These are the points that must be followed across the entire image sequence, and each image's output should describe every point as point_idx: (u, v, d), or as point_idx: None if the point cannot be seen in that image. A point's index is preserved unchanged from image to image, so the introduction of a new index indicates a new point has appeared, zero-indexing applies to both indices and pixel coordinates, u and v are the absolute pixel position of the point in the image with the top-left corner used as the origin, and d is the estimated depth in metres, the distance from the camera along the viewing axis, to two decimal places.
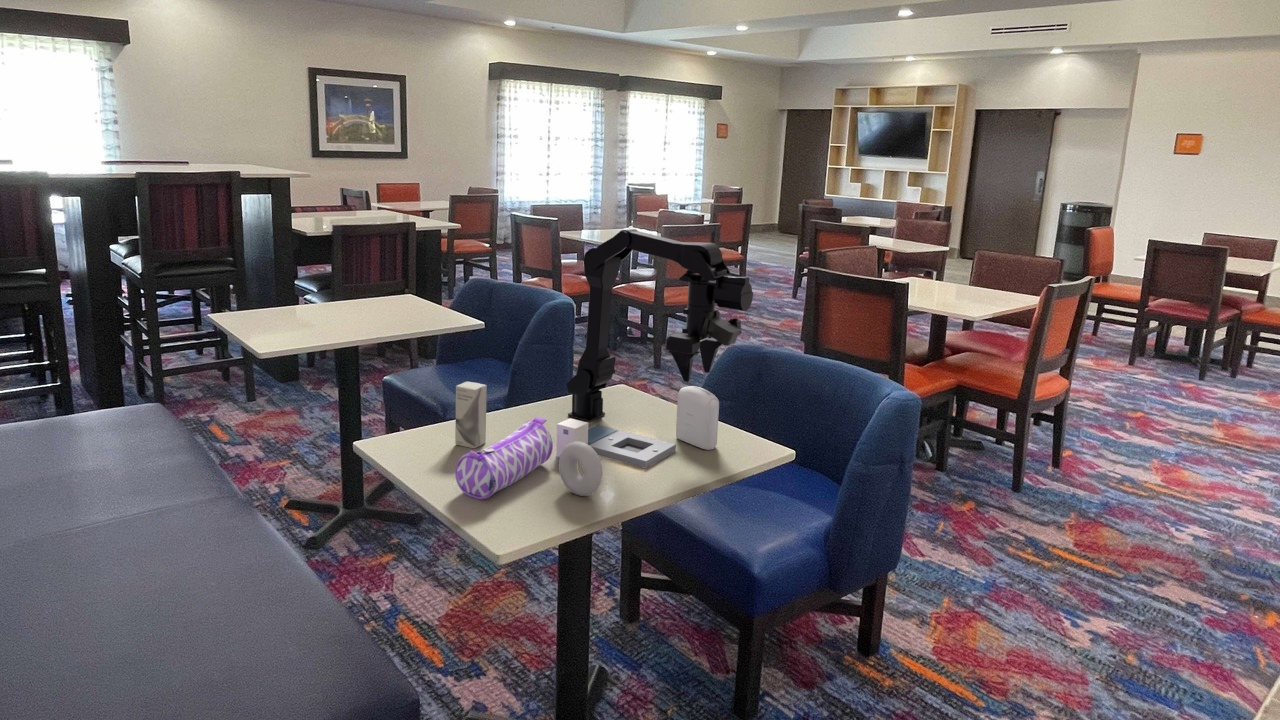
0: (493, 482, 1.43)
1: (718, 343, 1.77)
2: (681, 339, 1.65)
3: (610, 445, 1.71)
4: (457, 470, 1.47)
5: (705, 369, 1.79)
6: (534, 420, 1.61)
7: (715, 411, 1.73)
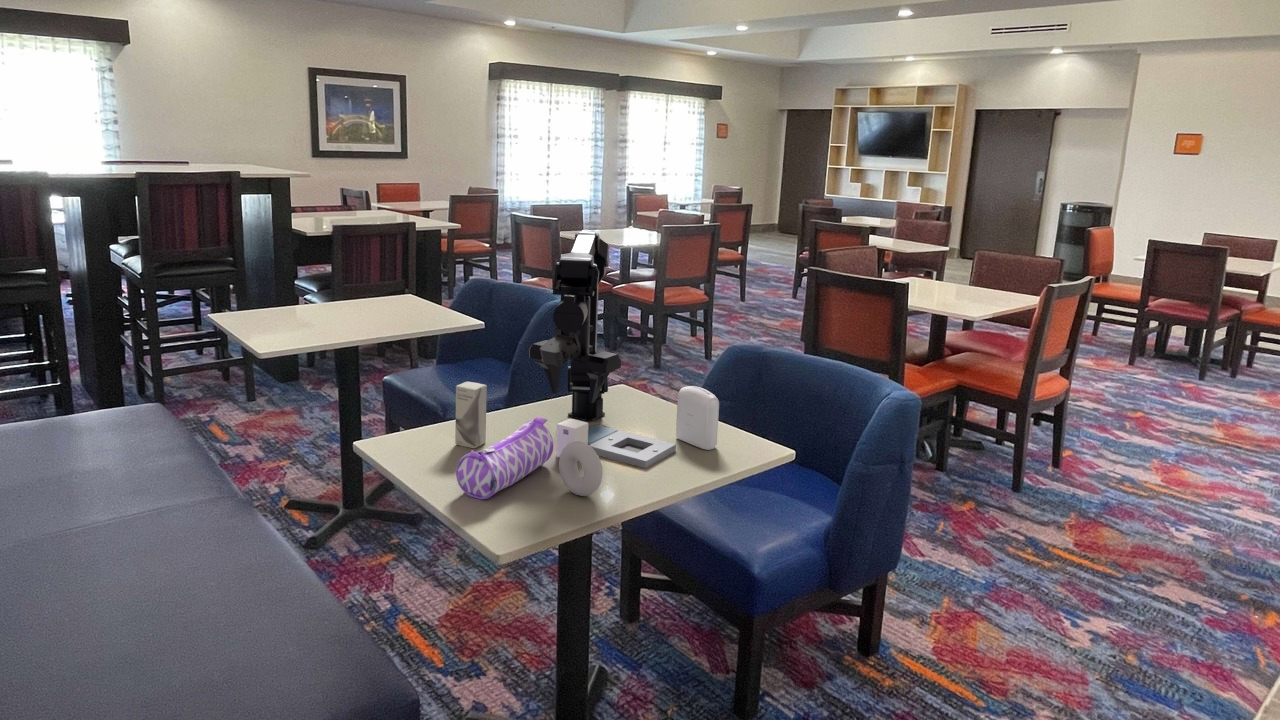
0: (494, 482, 1.43)
1: None
2: None
3: (610, 445, 1.71)
4: (458, 470, 1.47)
5: None
6: (535, 420, 1.61)
7: (715, 411, 1.73)
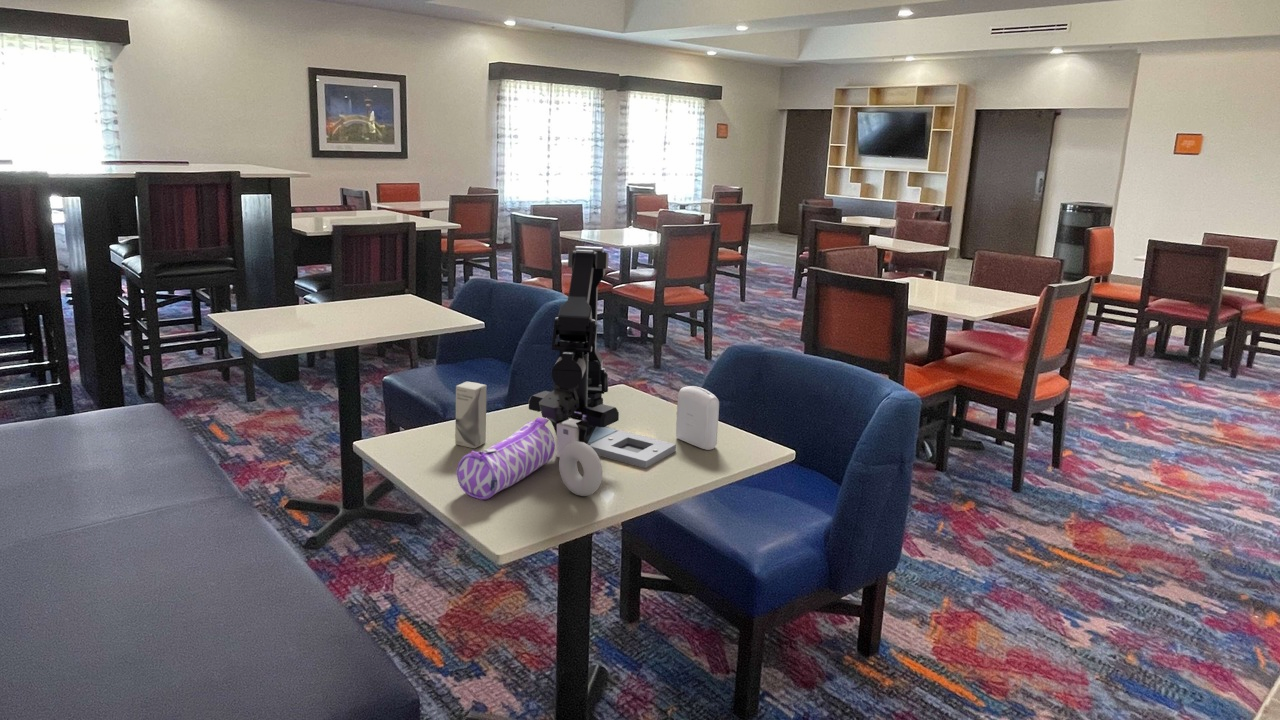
0: (495, 482, 1.43)
1: None
2: None
3: (610, 445, 1.71)
4: (459, 470, 1.47)
5: None
6: (536, 420, 1.61)
7: (715, 411, 1.73)
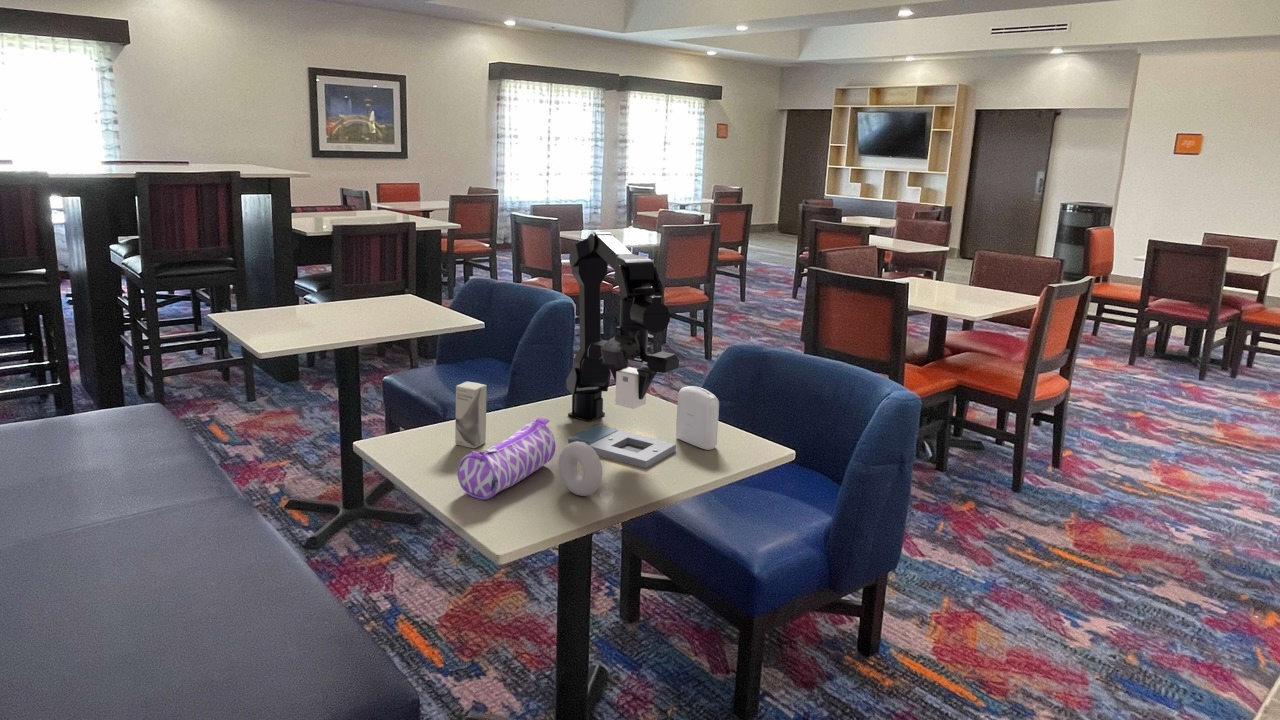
0: (495, 482, 1.43)
1: None
2: None
3: (610, 445, 1.71)
4: (459, 470, 1.47)
5: None
6: (537, 420, 1.61)
7: (715, 411, 1.73)
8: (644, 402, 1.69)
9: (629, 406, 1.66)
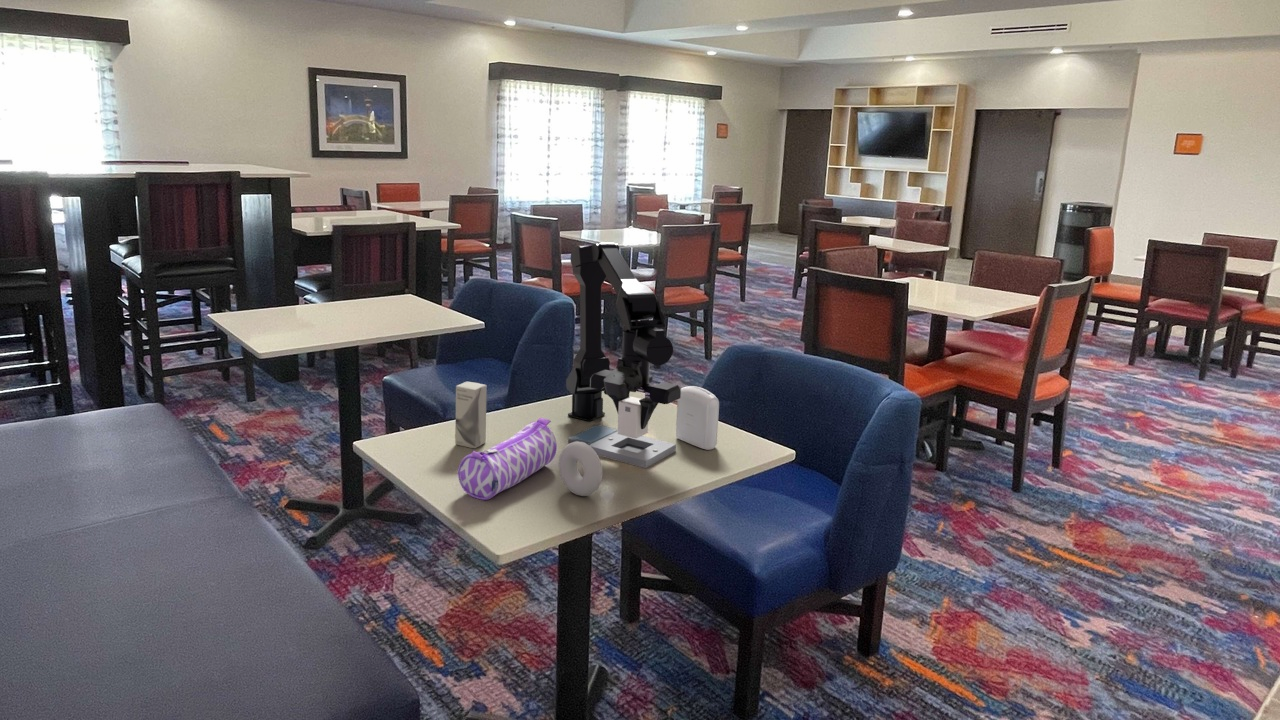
0: (495, 483, 1.43)
1: None
2: (596, 373, 1.72)
3: (610, 445, 1.71)
4: (460, 470, 1.47)
5: None
6: (538, 421, 1.61)
7: (715, 411, 1.73)
8: (646, 431, 1.71)
9: (631, 436, 1.68)
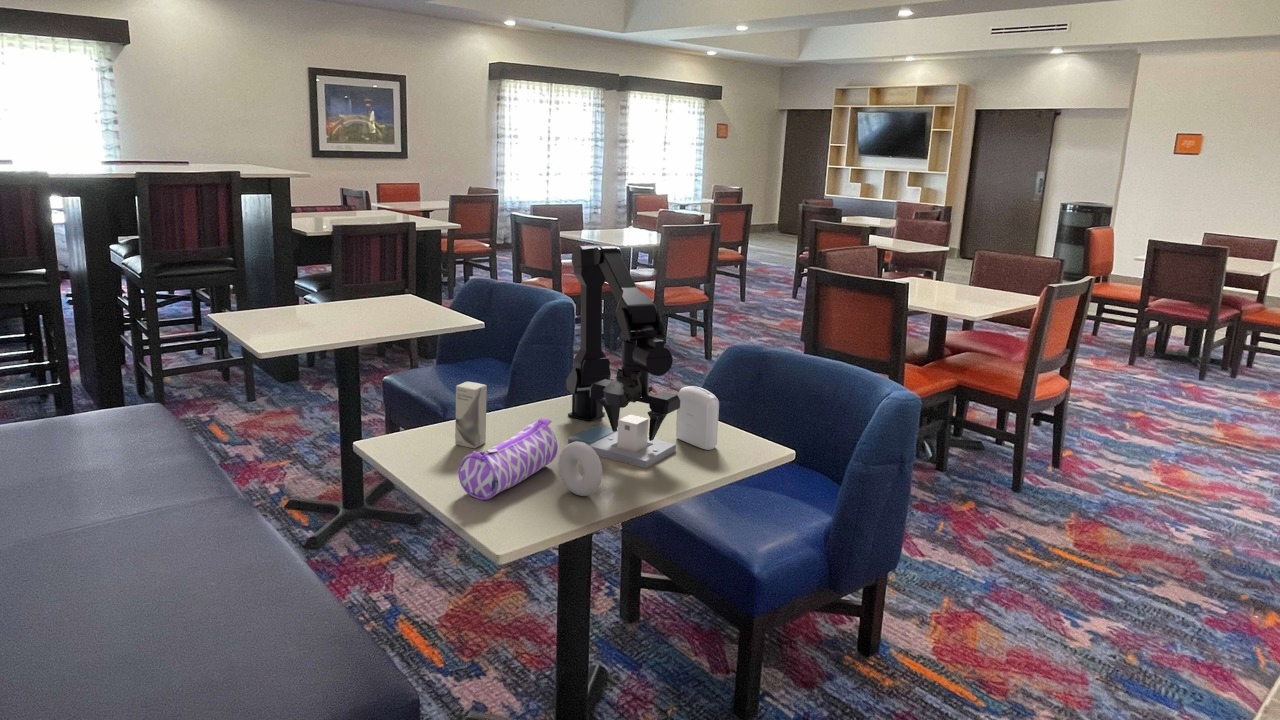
0: (495, 483, 1.42)
1: None
2: None
3: (610, 445, 1.71)
4: (460, 470, 1.47)
5: None
6: (539, 421, 1.61)
7: (715, 411, 1.73)
8: None
9: None
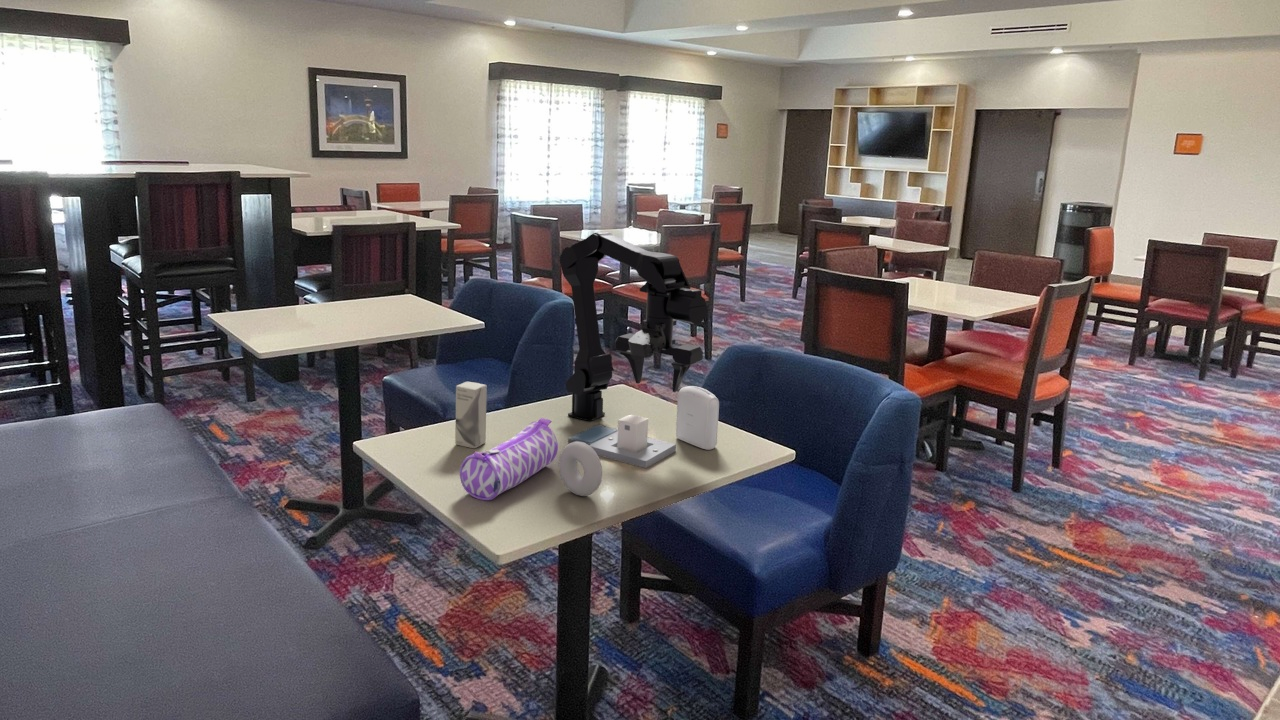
0: (498, 483, 1.42)
1: None
2: None
3: (610, 445, 1.71)
4: (462, 471, 1.47)
5: None
6: (539, 421, 1.61)
7: (715, 411, 1.73)
8: None
9: None
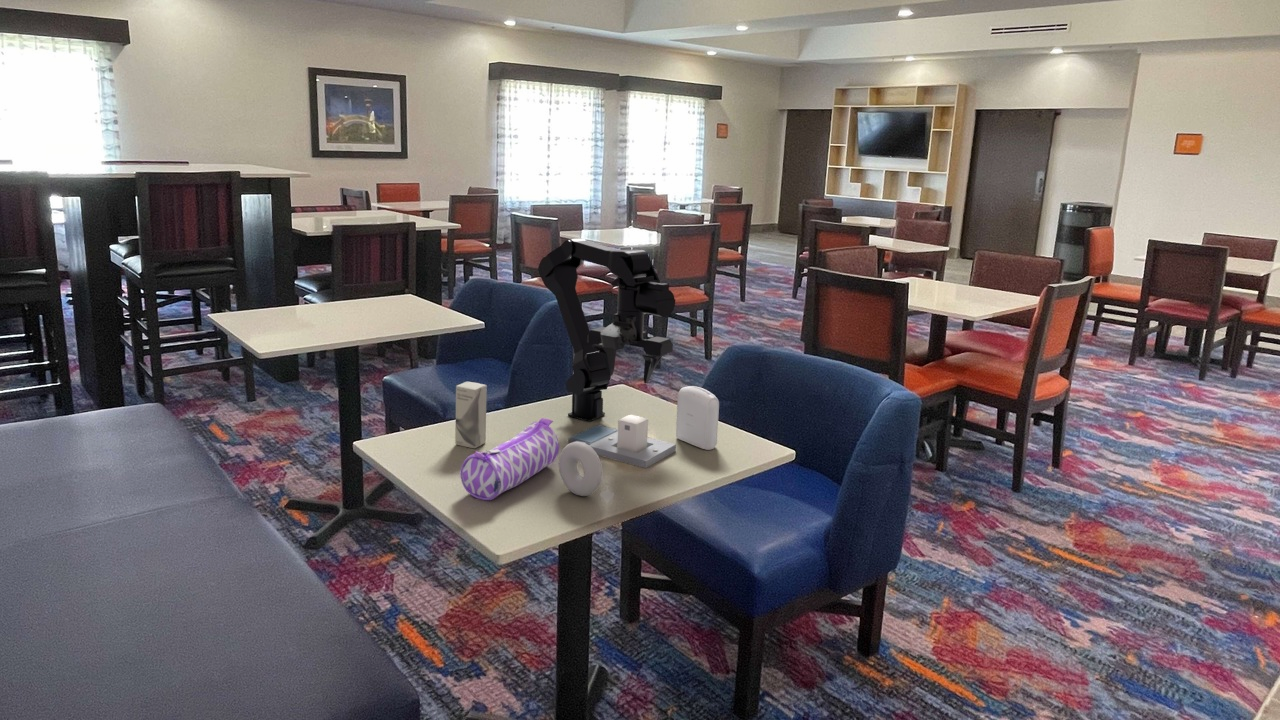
0: (498, 483, 1.42)
1: None
2: None
3: (610, 445, 1.71)
4: (462, 471, 1.47)
5: None
6: (540, 421, 1.61)
7: (715, 411, 1.73)
8: None
9: None
